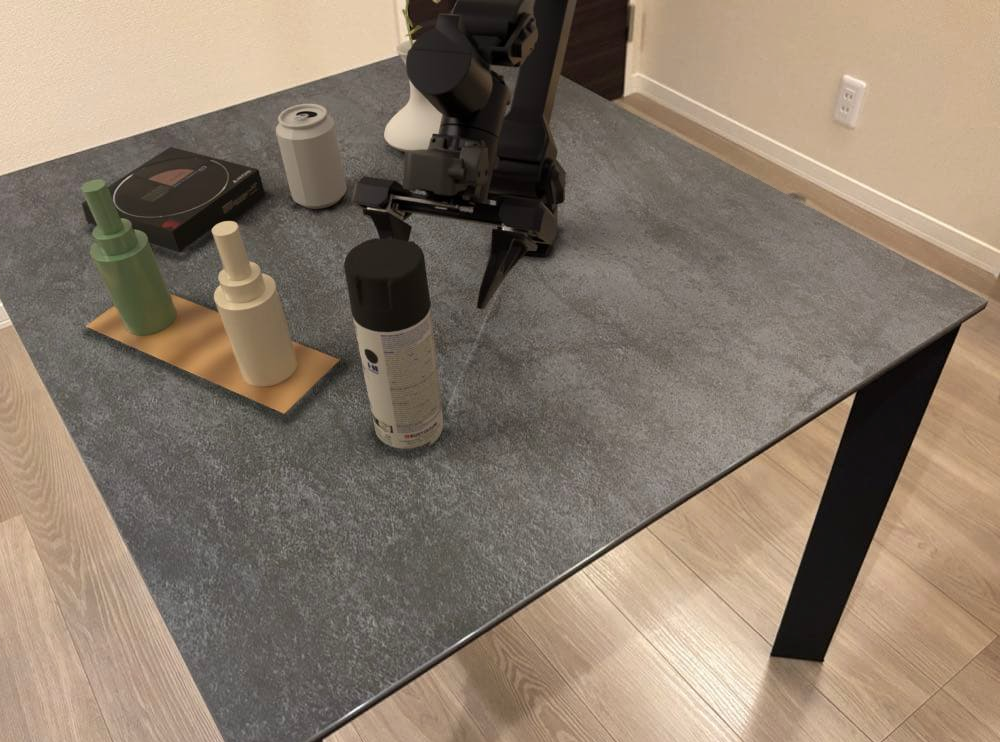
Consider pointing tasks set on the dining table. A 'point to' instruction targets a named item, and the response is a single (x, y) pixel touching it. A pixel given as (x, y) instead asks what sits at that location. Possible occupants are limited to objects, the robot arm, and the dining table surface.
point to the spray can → (396, 340)
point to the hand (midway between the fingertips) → (434, 300)
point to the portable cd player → (183, 196)
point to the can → (311, 155)
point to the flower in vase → (412, 110)
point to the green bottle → (128, 266)
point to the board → (216, 353)
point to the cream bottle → (251, 313)
